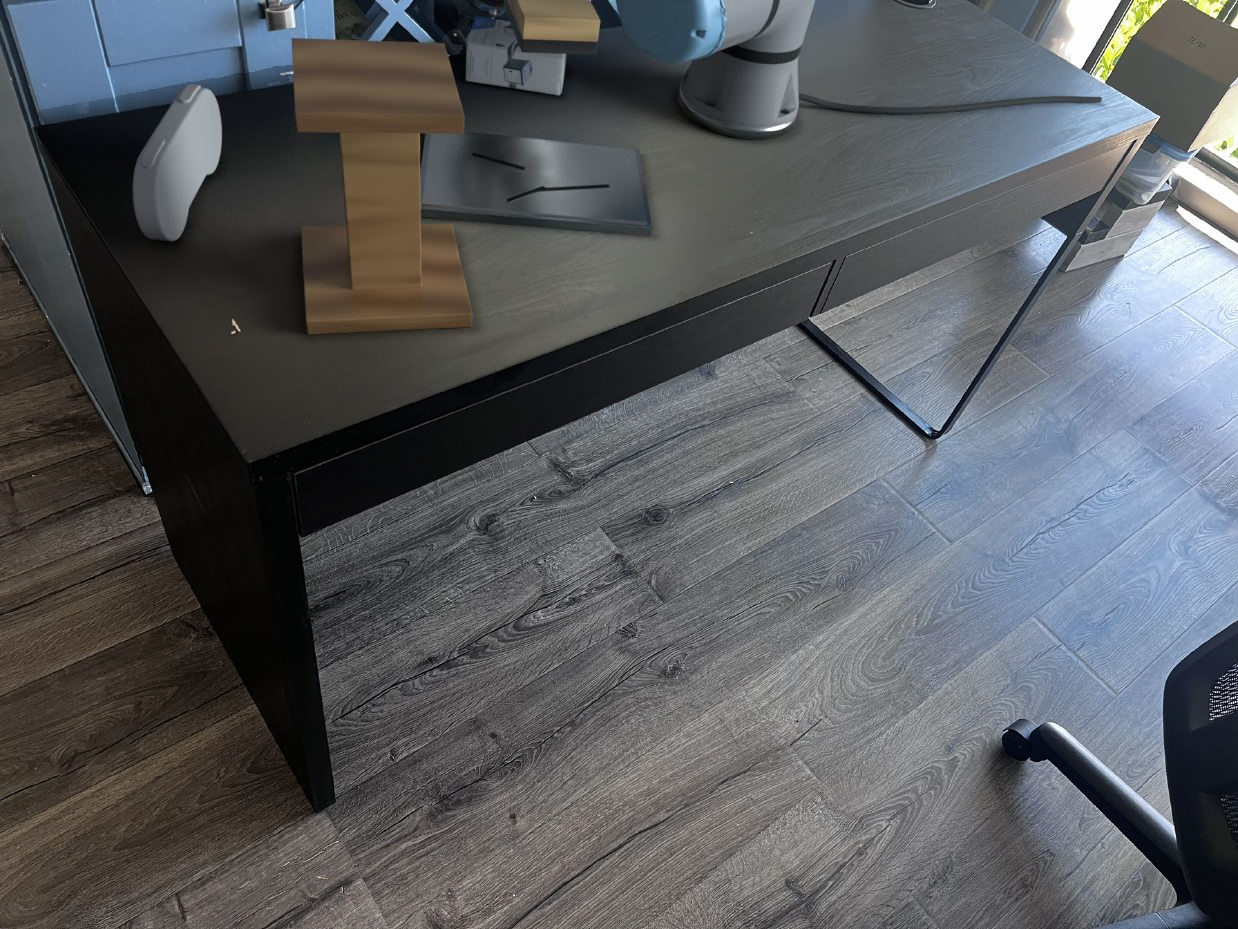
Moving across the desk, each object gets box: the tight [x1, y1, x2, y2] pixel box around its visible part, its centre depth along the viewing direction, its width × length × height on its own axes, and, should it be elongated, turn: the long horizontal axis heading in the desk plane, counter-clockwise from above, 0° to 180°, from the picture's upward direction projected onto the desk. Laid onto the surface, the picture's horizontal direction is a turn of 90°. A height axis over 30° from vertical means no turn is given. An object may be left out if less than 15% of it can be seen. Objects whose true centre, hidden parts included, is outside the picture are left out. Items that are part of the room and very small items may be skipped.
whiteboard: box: [420, 131, 654, 237], centre depth 101 cm, size 24×16×1 cm, turn 94°
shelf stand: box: [291, 37, 473, 335], centre depth 79 cm, size 14×14×20 cm
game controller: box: [132, 83, 223, 242], centre depth 88 cm, size 20×2×8 cm, turn 1°
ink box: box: [465, 16, 567, 96], centre depth 116 cm, size 9×5×12 cm
